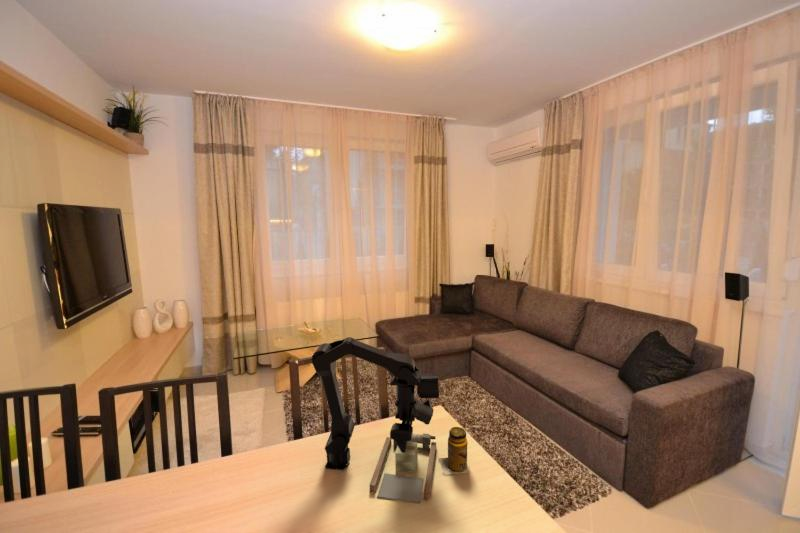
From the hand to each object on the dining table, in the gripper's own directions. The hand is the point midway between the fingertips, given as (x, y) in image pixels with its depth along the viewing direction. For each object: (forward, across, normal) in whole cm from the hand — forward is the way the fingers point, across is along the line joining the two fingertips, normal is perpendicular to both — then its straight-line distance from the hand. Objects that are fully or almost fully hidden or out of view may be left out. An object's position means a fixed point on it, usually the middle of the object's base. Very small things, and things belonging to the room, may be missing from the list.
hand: (406, 442), depth 113 cm
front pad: (+8, -10, 0) cm, 13 cm away
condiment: (+8, +2, -15) cm, 17 cm away
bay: (+8, -2, 0) cm, 8 cm away
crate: (+8, 0, 0) cm, 8 cm away
